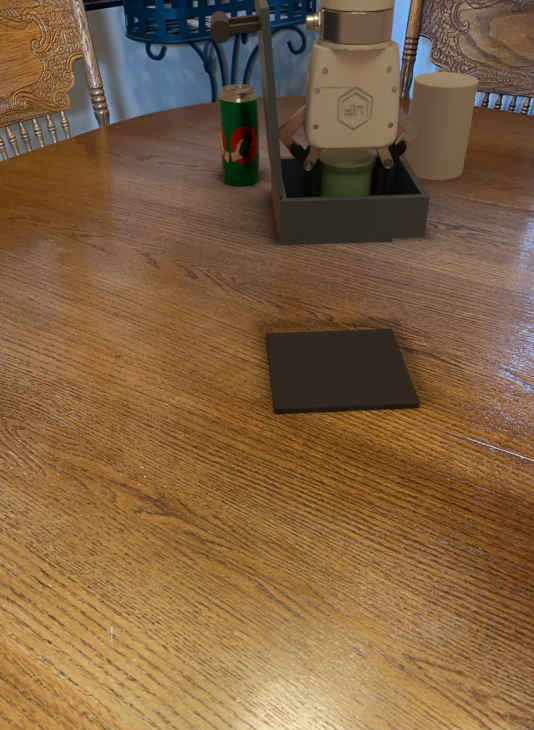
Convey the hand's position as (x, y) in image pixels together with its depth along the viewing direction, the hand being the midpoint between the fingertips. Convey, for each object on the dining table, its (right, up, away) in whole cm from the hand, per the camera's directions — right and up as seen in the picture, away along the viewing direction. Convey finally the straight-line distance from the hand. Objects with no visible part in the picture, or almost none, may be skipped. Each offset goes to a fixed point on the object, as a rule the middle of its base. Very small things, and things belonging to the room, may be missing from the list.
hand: (344, 199), depth 84 cm
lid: (-9, +9, -8) cm, 15 cm away
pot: (0, -2, +2) cm, 2 cm away
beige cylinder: (+14, +9, +15) cm, 22 cm away
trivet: (-3, -24, -22) cm, 33 cm away
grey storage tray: (0, -2, +2) cm, 3 cm away
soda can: (-13, +6, +12) cm, 19 cm away
